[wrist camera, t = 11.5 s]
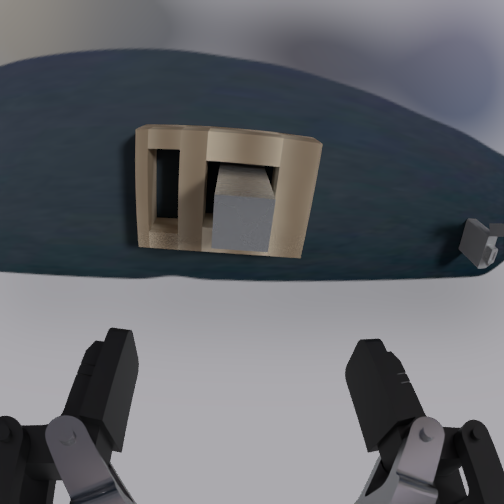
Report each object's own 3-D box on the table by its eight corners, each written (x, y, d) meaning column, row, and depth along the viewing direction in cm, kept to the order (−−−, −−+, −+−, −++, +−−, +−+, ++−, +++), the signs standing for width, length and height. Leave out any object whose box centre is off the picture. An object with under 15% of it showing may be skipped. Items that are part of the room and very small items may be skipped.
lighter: (467, 249, 31) (504, 286, 24) (458, 249, 31) (495, 288, 24) (482, 195, 27) (527, 226, 21) (472, 194, 27) (518, 226, 20)
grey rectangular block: (218, 198, 27) (211, 248, 19) (221, 159, 25) (214, 194, 17) (257, 201, 27) (267, 252, 19) (262, 162, 25) (275, 199, 18)
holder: (147, 231, 28) (138, 246, 25) (146, 124, 23) (135, 129, 20) (294, 241, 29) (300, 258, 27) (313, 137, 24) (322, 143, 22)
